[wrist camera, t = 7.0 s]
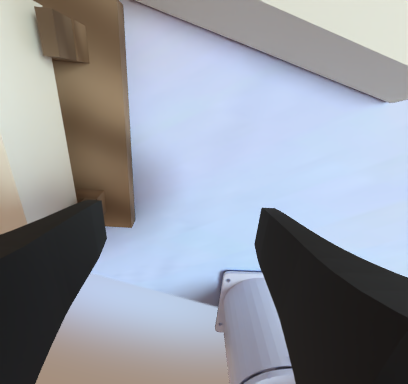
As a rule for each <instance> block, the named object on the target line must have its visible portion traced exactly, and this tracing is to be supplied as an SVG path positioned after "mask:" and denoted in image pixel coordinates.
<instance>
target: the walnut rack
mask: <svg viewBox="0 0 408 384" xmlns="http://www.w3.org/2000/svg"><path fill="white" fill-rule="evenodd" d="M33 1H35V2H37V3H39V4H40V5H42V7H36V6H34V9H35V14H36V19H37V24H38V30H39V35H40V40H41V46H42V51H43V56H48V57H51V58H52V63H53V69H54V74H55V80H56V86H57V91H58V97H59V103H60V108H61V114H62V119H63V125H64V131H65V136H66V142H67V148H68V153H69V159H70V164H71V170H72V176H73V181H74V187H75V193H76V198H77V203H79V202H82V201H85V200H101V201H102V208H103V215H104V222H105V226H109V227H128V228H132V226H133V224H134V222H135V209H134V192H133V174H132V156H131V138H130V120H129V102H128V84H127V66H126V49H125V31H124V13H123V5H122V4H121V2H120V1H119V0H33Z"/></svg>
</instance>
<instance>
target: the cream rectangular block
mask: <svg viewBox="0 0 408 384" xmlns="http://www.w3.org/2000/svg"><path fill="white" fill-rule="evenodd" d="M34 6H36V7H42V5H40V4H39V3H37V2H35V1H33V0H0V234H3V233H6V232H9V231H11V230H14V229H17V228H19V227H22V226H24V225H27V224H29V223H31V222H34V221H36V220H39V219H41V218H44V217H46V216H48V215H51V214H53V213H55V212H58V211H60V210H62V209H64V208H67V207H69V206H71V205H74V204H76V203H77V198H76V193H75V187H74V181H73V176H72V170H71V164H70V159H69V153H68V148H67V142H66V136H65V131H64V125H63V119H62V114H61V108H60V103H59V97H58V91H57V86H56V80H55V74H54V69H53V63H52V58H51V57H48V56H43V51H42V46H41V40H40V35H39V30H38V24H37V19H36V14H35V9H34Z"/></svg>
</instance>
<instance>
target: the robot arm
mask: <svg viewBox="0 0 408 384" xmlns="http://www.w3.org/2000/svg"><path fill="white" fill-rule="evenodd" d="M106 239H107V237H106V230H105V222H104V215H103V208H102V201H101V200H85V201H82V202H79V203H76V204H74V205H71V206H69V207H67V208H64V209H62V210H60V211H58V212H55V213H53V214H51V215H48V216H46V217H44V218H41V219H39V220H36V221H34V222H31V223H29V224H27V225H24V226H22V227H19V228H17V229H14V230H11V231H9V232H6V233H3V234H0V384H35V383H36V380H37V378H38V375H39V373H40V370H41V368H42V366H43V364H44V361H45V359H46V357H47V355H48V352H49V350H50V347H51V345H52V343H53V341H54V339H55V337H56V334H57V332H58V330H59V328H60V326H61V323H62V321H63V320H64V317H65V315H66V314H67V312H68V310H69V308H70V306H71V304H72V302H73V301H74V299H75V298H76V296H77V294H78V293H79V291H80V289H81V287H82V286H83V284H84V282H85V281H86V279H87V277H88V276H89V274H90V272H91V271H92V269H93V267H94V266H95V264H96V262H97V260H98V259H99V256H100V254H101V252H102V249H103V247H104V244H105V242H106ZM255 249H256V253H257V258H258V262H259V265H260V268H261V271H262V272H239V271H226V272H225V273H224V274H223V280H222V287H221V293H220V300H219V306H218V312H217V319H216V325H215V329H216V331H217V332H224V338H225V348H226V357H227V366H228V375H229V383H230V384H408V278H407V277H404V276H402V275H399V274H397V273H394V272H392V271H389V270H387V269H385V268H382V267H380V266H377V265H375V264H373V263H371V262H368V261H366V260H364V259H362V258H360V257H358V256H356V255H354V254H352V253H350V252H347V251H345V250H343V249H342V248H340V247H338V246H336V245H334V244H332V243H331V242H329V241H327V240H325V239H324V238H322V237H320V236H319V235H317V234H315V233H314V232H312V231H310V230H309V229H307V228H306V227H304V226H303V225H301V224H299V223H298V222H296V221H295V220H293V219H292V218H290V217H289V216H287V215H286V214H284V213H282V212H281V211H279V210H277V209H275V208H262V209H261V214H260V219H259V224H258V229H257V234H256V239H255ZM227 279H228V280H227Z"/></svg>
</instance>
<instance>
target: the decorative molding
mask: <svg viewBox="0 0 408 384" xmlns="http://www.w3.org/2000/svg"><path fill="white" fill-rule="evenodd" d="M135 1H137V2H140V3H142V4H145V5H147V6H150V7H152V8H155V9H157V10H160V11H162V12H164V13H167V14H169V15H172V16H174V17H177V18H179V19H182V20H184V21H187V22H189V23H192V24H194V25H197V26H199V27H202V28H205V29H207V30H210V31H212V32H214V33H217V34H219V35H222V36H224V37H227V38H229V39H232V40H234V41H237V42H239V43H242V44H244V45H247V46H249V47H252V48H254V49H257V50H259V51H262V52H264V53H267V54H269V55H272V56H274V57H277V58H279V59H282V60H284V61H287V62H289V63H291V64H294V65H296V66H299V67H301V68H304V69H306V70H309V71H311V72H314V73H316V74H318V75H321V76H323V77H326V78H328V79H331V80H333V81H336V82H338V83H341V84H343V85H346V86H349V87H351V88H354V89H356V90H359V91H361V92H364V93H366V94H369V95H371V96H374V97H376V98H379V99H381V100H384V101H386V102H389V103H395V102H399V101H403V100H408V0H135Z"/></svg>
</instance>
